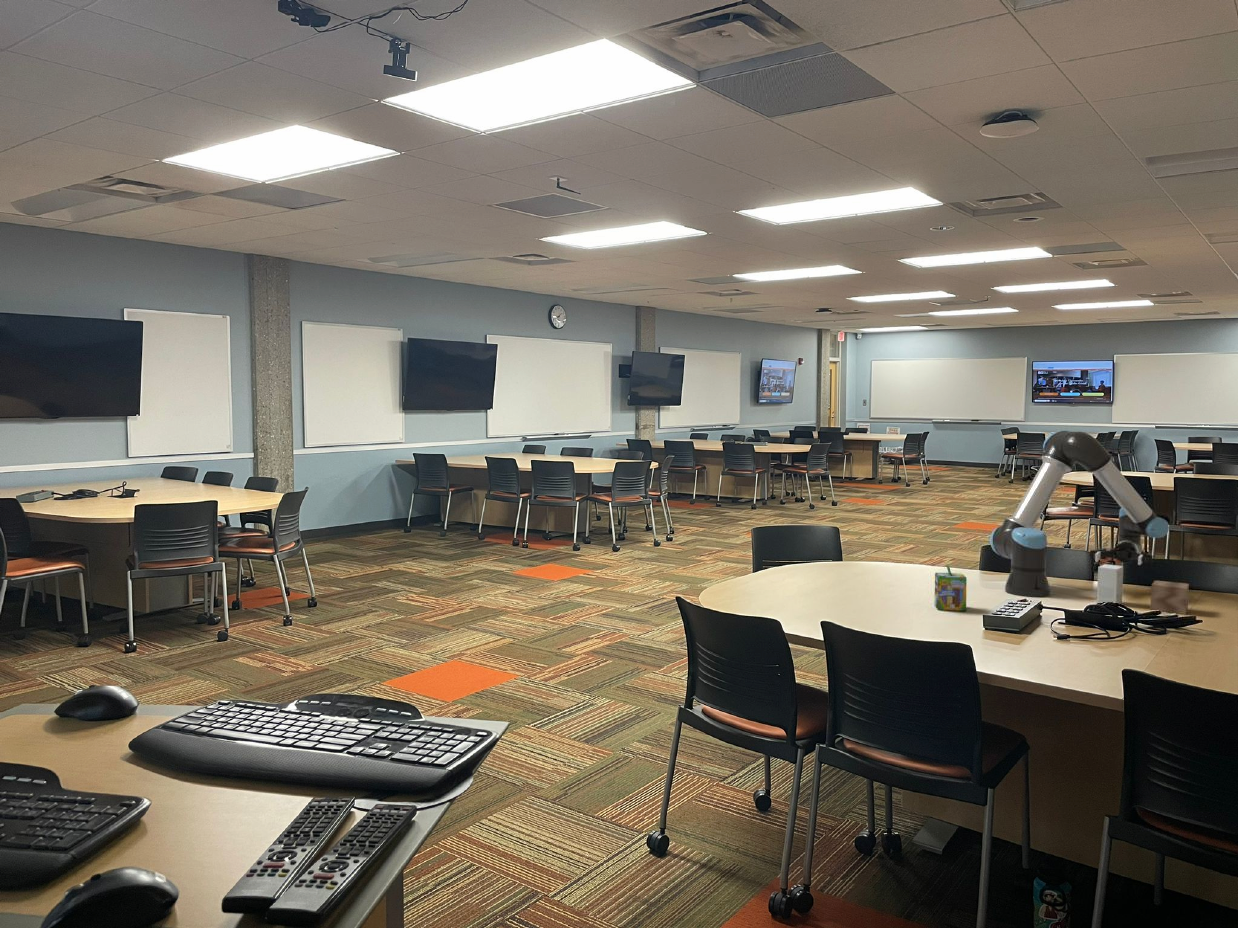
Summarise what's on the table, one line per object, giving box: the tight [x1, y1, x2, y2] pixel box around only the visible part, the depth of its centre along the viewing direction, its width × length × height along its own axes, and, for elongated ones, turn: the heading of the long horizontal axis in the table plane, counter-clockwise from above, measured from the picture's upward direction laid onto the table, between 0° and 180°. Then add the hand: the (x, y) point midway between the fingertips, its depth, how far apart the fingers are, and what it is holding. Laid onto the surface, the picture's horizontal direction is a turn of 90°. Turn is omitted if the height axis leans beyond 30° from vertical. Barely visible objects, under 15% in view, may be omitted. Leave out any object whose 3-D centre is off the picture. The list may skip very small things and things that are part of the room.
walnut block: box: [1149, 580, 1190, 616], centre depth 307 cm, size 10×10×9 cm
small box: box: [1096, 563, 1124, 604], centre depth 317 cm, size 8×6×13 cm
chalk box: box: [933, 563, 967, 612], centre depth 306 cm, size 9×9×15 cm
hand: (1117, 559), depth 325 cm, fingers open, 13 cm apart
